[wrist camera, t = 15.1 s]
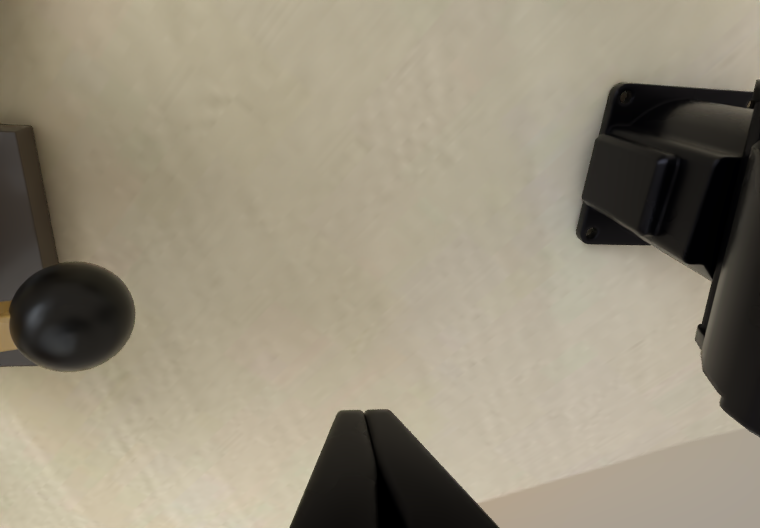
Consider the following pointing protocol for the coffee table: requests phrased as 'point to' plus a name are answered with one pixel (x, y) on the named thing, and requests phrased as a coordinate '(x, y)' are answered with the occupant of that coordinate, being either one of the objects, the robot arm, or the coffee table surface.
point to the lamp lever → (68, 317)
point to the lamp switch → (21, 220)
